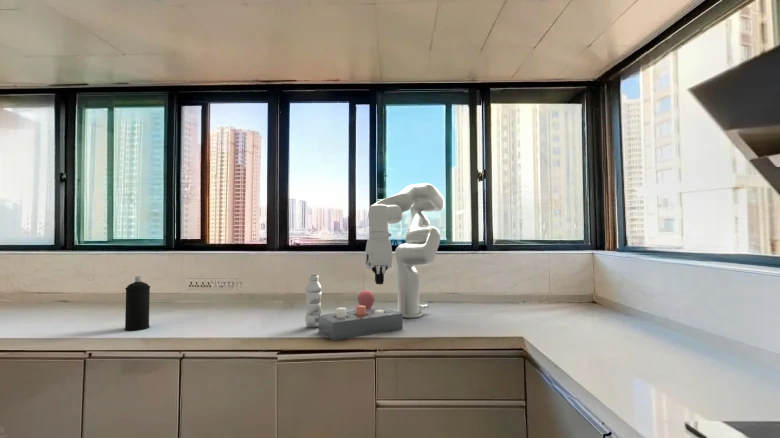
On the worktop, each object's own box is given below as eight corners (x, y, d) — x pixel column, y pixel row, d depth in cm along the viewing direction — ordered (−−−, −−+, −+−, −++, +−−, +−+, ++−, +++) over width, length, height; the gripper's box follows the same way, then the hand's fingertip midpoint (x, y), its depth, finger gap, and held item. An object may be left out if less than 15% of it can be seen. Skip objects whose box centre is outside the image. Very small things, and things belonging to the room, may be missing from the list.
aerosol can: (154, 327, 151) (155, 275, 151) (132, 332, 143) (134, 278, 144) (141, 325, 154) (142, 275, 155) (119, 329, 147) (120, 277, 147)
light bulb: (354, 319, 162) (354, 291, 162) (362, 316, 169) (362, 288, 169) (370, 321, 159) (370, 291, 160) (377, 317, 166) (377, 289, 166)
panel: (383, 322, 157) (383, 307, 157) (402, 329, 145) (402, 313, 145) (318, 331, 142) (318, 315, 143) (333, 340, 130) (333, 322, 131)
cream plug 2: (381, 324, 150) (381, 309, 150) (385, 326, 147) (385, 311, 147) (373, 326, 148) (373, 310, 149) (377, 328, 145) (377, 312, 146)
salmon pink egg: (363, 320, 146) (362, 305, 146) (367, 322, 143) (367, 306, 143) (354, 322, 144) (354, 306, 145) (358, 324, 141) (358, 307, 142)
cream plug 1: (343, 323, 142) (343, 307, 142) (347, 325, 139) (347, 308, 139) (334, 324, 140) (334, 308, 141) (338, 326, 137) (338, 309, 137)
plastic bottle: (318, 329, 146) (318, 276, 147) (302, 328, 147) (302, 276, 148) (324, 325, 152) (325, 274, 153) (308, 324, 154) (309, 274, 154)
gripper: (390, 236, 156) (390, 281, 156) (357, 236, 148) (357, 284, 148) (400, 236, 150) (400, 283, 149) (366, 236, 142) (366, 286, 141)
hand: (379, 283), depth 149 cm, fingers closed
